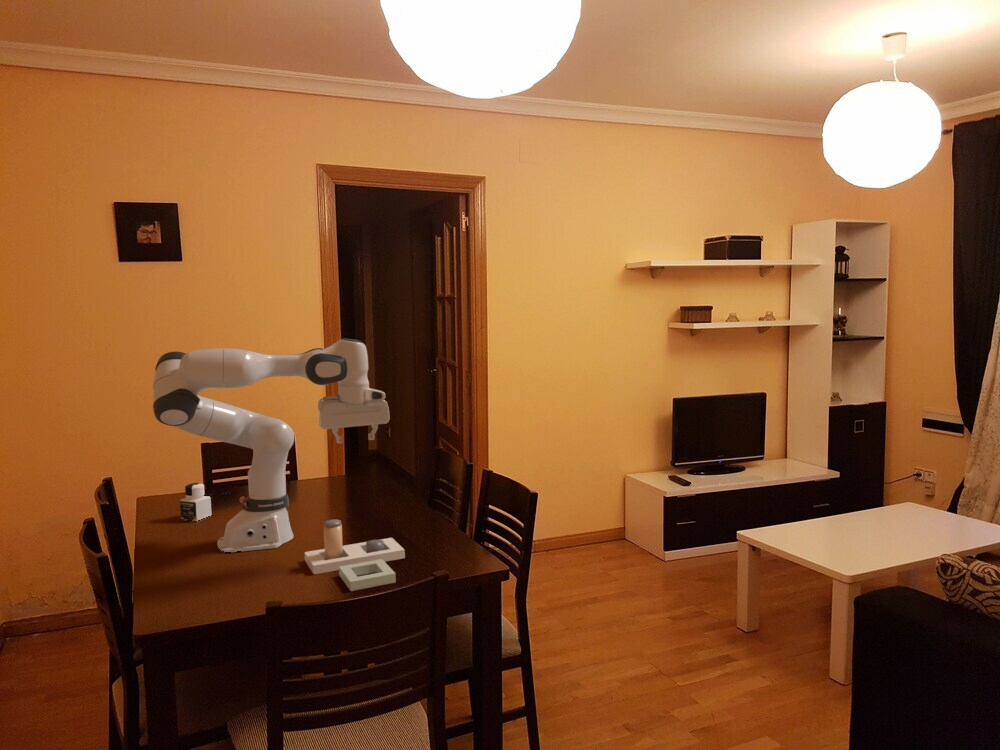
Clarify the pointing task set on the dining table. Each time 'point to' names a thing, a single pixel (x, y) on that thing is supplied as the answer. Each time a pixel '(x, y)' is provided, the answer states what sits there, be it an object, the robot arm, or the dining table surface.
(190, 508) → the medicine bottle
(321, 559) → the white rectangular tray
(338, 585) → the dining table surface
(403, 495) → the dining table surface
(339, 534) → the tan plug
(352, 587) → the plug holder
